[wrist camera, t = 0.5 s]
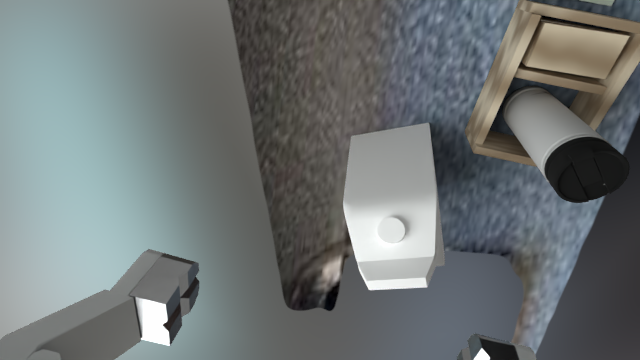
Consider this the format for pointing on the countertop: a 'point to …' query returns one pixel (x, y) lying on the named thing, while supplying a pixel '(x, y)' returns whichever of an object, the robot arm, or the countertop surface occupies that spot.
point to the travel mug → (564, 146)
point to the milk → (394, 207)
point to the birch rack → (547, 78)
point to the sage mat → (601, 2)
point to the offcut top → (574, 49)
